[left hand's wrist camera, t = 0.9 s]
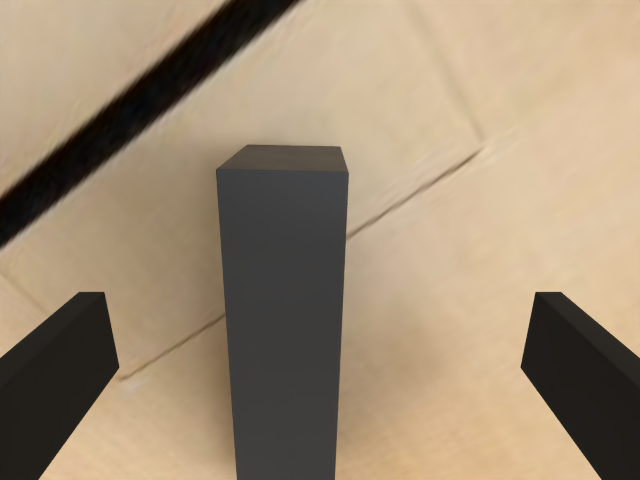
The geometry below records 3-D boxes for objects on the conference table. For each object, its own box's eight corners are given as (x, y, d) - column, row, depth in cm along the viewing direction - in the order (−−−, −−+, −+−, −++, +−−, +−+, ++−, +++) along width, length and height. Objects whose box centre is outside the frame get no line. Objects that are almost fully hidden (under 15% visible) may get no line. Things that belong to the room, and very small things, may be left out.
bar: (246, 144, 26) (215, 169, 18) (340, 146, 26) (348, 172, 18) (259, 459, 35) (242, 563, 28) (328, 461, 35) (330, 565, 28)
